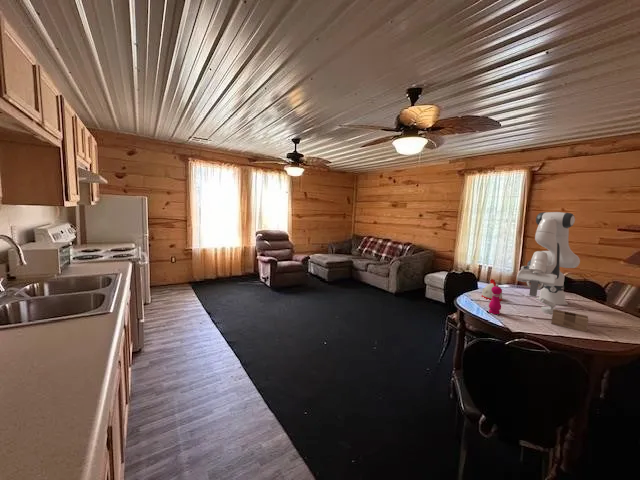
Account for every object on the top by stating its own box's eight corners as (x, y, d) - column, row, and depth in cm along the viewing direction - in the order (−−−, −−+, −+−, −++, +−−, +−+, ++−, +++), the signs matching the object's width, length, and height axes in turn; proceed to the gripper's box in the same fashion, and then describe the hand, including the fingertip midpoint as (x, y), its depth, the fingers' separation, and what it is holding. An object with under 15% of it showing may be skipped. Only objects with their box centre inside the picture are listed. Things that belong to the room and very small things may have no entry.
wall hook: (537, 296, 201) (553, 297, 199) (536, 309, 202) (552, 310, 200) (544, 300, 192) (561, 301, 190) (542, 313, 194) (559, 315, 192)
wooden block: (552, 320, 182) (553, 308, 181) (585, 327, 172) (587, 315, 171) (551, 323, 176) (552, 312, 175) (586, 331, 166) (588, 319, 165)
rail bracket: (529, 294, 186) (531, 279, 185) (536, 295, 184) (538, 280, 183) (529, 295, 183) (531, 280, 182) (535, 296, 181) (538, 281, 180)
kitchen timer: (496, 295, 230) (498, 277, 228) (505, 301, 217) (507, 282, 215) (478, 294, 232) (480, 277, 230) (486, 300, 218) (488, 281, 216)
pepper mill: (485, 311, 195) (488, 282, 193) (495, 310, 196) (498, 282, 193) (492, 315, 188) (495, 285, 186) (503, 315, 189) (506, 285, 186)
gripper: (557, 277, 184) (554, 294, 178) (519, 271, 197) (515, 287, 191) (557, 271, 180) (554, 289, 174) (518, 265, 193) (515, 282, 187)
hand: (533, 288), depth 183 cm, fingers closed on rail bracket, 3 cm apart
